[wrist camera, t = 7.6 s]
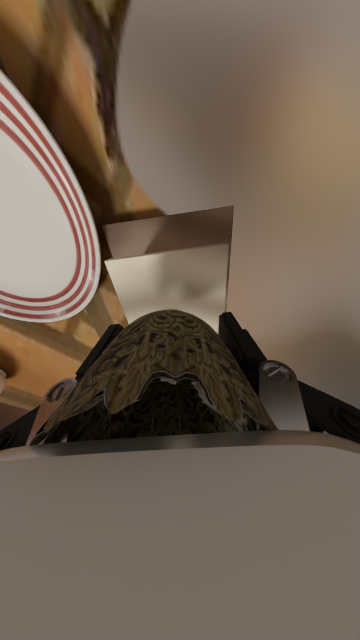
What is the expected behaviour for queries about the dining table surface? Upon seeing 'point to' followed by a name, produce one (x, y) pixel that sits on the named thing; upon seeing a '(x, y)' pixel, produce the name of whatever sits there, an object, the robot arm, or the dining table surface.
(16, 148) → the dinner plate
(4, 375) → the lidded jar
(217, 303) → the cream pedestal stand
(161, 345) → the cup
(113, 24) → the dining table surface
